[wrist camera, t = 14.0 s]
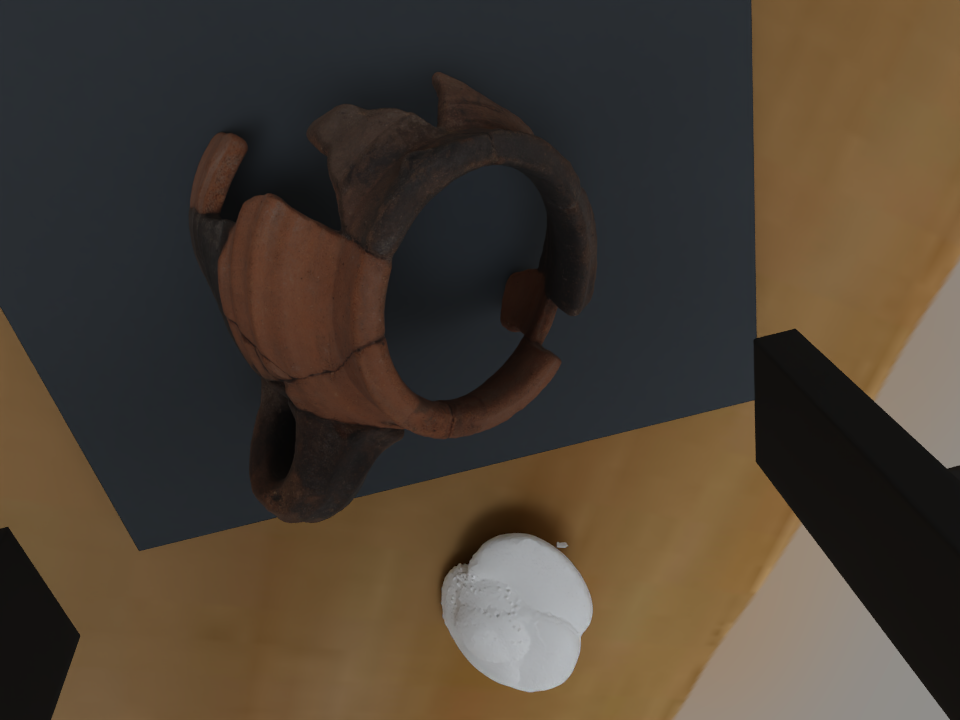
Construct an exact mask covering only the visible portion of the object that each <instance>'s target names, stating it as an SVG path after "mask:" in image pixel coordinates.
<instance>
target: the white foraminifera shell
mask: <svg viewBox="0 0 960 720" xmlns="http://www.w3.org/2000/svg"><path fill="white" fill-rule="evenodd" d="M567 546H568V545H567V543H566V542H561V543H559V542H557V547H558V548H559V547H560V548H566V547H567ZM441 590H442V598H441V600H442V602H441V605H442V610H443V615H442V616H443V618H444V620H445V624H446V626H447V627H448V629H449V632H450V634H451V636H452V637H453V639H454V641H455V643H456V645H457V646H458V648H459V649H460V650H461V652H462V653H463V654H464V656H465V657H466V658H467V659H468V661H469V662H470V663H471V664H472V665H473V666H474V667H475V668H476V669H477V670H479V671H480V672H482V673H483V674H484V675H486V676H487V677H489V678H490V679H492V680H493V681H496V682H498V683H500V684H503V685H506V686H509V687H512V688H515V689H518V690H522V691H527V692H535V691H543V690H548V689H551V688H554V687H556V686H559V685H561V684H562V683H563V682H565V681H566V680H567V679H568V678H569V676H570V675H571V673H572V672H573V670H574V667H575V665H576V662H577V660H578V657H579V654H580V648H581V635H582V634H583V632H584V631H585V630H586V629H587V627H588V626H589V624H590V622H591V619H592V614H593V606H592V599H591V596H590V592H589V590H588V588H587V585H586V583H585V582H584V580H583V577H582V576H581V574H580V573H579V571H578V570H577V568H576V567H575V566H574V565H573V563H572V562H571V561H570V560H569V559H568V558H567V557H566V556H565V555H564V554H563V553H562V552H561V551H559V550H558V549H557V548H555V547H554V546H553V545H551V544H550V543H548V542H546V541H545V540H543V539H540V538H538V537H536V536H533V535H530V534H525V533H508V534H503V535H498V536H496V537H494V538H492V539H490V540H488V541H486V542H485V543H483V544H482V546H481V547H480V548H479V550H478V551H477V552H476V553H475V554H474V555H473V557H472V559H471V560H470V561H469V564H468V565H467V564H466V563H465V564H464V565H462V564H461V563H459V564H458V566H454V567H453V569H451V570H450V571H449V573H448V574H447V576H446V577H445V578H444V582H443V586H442V588H441Z"/></svg>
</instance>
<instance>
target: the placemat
mask: <svg viewBox="0 0 960 720" xmlns="http://www.w3.org/2000/svg"><path fill="white" fill-rule="evenodd" d="M436 72H441V73H443V74H445V75H448V76H450V77H452V78H455V79H457V80H459V81H461V82H463V83H465V84H467V85H468V86H469V87H470V88H472V89H474V90H475V91H477V92H479V93H481V94H482V95H484V96H485V97H487V98H488V99H490V100H492V101H493V102H494V103H496V104H498V105H499V106H501V107H503V108H505V109H507V110H509V111H510V112H511V113H513V114H515V115H516V116H518V117H519V118H520V119H521V120H522V121H523V122H524V123H525V124H526V125H528V126H529V127H530V129H531V130H532V132H533V133H534V135H536V136H538V137H540V138H542V139H543V140H545V141H546V142H548V143H549V144H551V145H552V146H553V147H554V148H555V149H556V150H557V151H559V153H560V154H561V155H562V156H563V157H564V158H566V159H567V160H568V161H570V163H571V165H572V167H573V169H574V171H575V173H576V174H577V175H578V177H579V179H580V186H581V187H582V188H583V189H584V190H585V191H586V193H587V196H588V199H589V202H590V204H591V207H592V210H593V213H594V220H595V223H596V233H597V270H596V279H595V283H594V292H593V295H592V298H591V301H590V302H589V303H588V305H587V306H586V307H585V308H584V309H583V310H582V311H581V313H580V314H579V315H577V316H569V315H567V314H566V313H565V312H563V311H562V310H560V309H559V308H557V311H556V314H555V317H554V320H553V323H552V326H551V328H550V330H549V332H548V334H547V336H546V337H545V339H544V342H543V343H542V347H543V348H545V349H547V350H549V351H551V352H552V353H554V354H555V355H556V356H557V357H559V358H560V360H561V361H562V362H561V365H560V367H559V369H558V370H557V372H556V374H555V375H554V377H553V378H552V379H551V381H550V382H549V383H548V384H547V386H546V387H545V388H544V389H543V390H542V391H541V392H540V393H539V394H538V395H537V396H536V397H535V398H534V399H533V400H532V401H531V402H530V403H529V404H527V405H526V406H525V407H524V408H523V409H522V410H520V411H518V412H517V413H515V414H514V415H513V416H512V417H511V418H509V419H508V420H507V421H505V422H503V423H501V424H499V425H497V426H495V427H493V428H490V429H488V430H484V431H482V432H479V433H475V434H473V435H471V436H463V437H458V438H447V439H434V438H431V437H424V436H421V435H418V434H415V433H413V432H411V431H410V430H407V429H404V431H405V433H404V436H403V438H402V439H401V440H400V441H398V442H396V443H394V444H392V445H391V446H390V447H388V448H387V449H386V450H385V451H383V452H382V453H381V454H380V455H379V457H378V458H377V459H376V461H375V462H374V464H373V465H372V467H371V468H370V470H369V472H368V474H367V477H366V479H365V481H364V483H363V485H362V487H361V489H360V491H359V492H358V493H357V495H356V496H355V497H354V498H357V497H362V496H366V495H370V494H374V493H378V492H382V491H386V490H390V489H394V488H398V487H402V486H406V485H410V484H414V483H419V482H423V481H427V480H431V479H435V478H439V477H443V476H447V475H451V474H455V473H459V472H463V471H467V470H471V469H476V468H480V467H484V466H488V465H492V464H496V463H500V462H504V461H508V460H512V459H516V458H520V457H524V456H528V455H533V454H537V453H541V452H545V451H549V450H553V449H557V448H561V447H565V446H569V445H573V444H577V443H581V442H585V441H589V440H594V439H598V438H602V437H606V436H610V435H614V434H618V433H622V432H626V431H630V430H634V429H638V428H642V427H646V426H651V425H655V424H659V423H663V422H667V421H671V420H675V419H679V418H683V417H687V416H691V415H695V414H699V413H703V412H708V411H712V410H716V409H720V408H724V407H728V406H732V405H736V404H740V403H744V402H748V401H752V400H755V393H754V344H753V339H756V338H757V331H756V269H755V206H754V144H753V81H752V18H751V0H0V307H1V309H2V310H3V312H4V314H5V316H6V318H7V319H8V321H9V323H10V325H11V326H12V328H13V330H14V332H15V333H16V335H17V337H18V339H19V340H20V342H21V344H22V346H23V347H24V349H25V351H26V353H27V355H28V356H29V358H30V360H31V362H32V363H33V365H34V367H35V369H36V370H37V372H38V374H39V376H40V377H41V379H42V381H43V383H44V384H45V386H46V388H47V390H48V391H49V393H50V395H51V397H52V399H53V400H54V402H55V404H56V406H57V407H58V409H59V411H60V413H61V414H62V416H63V418H64V420H65V421H66V423H67V425H68V427H69V428H70V430H71V432H72V434H73V436H74V437H75V439H76V441H77V443H78V444H79V446H80V448H81V450H82V451H83V453H84V455H85V457H86V458H87V460H88V462H89V464H90V465H91V467H92V469H93V471H94V472H95V474H96V476H97V478H98V480H99V481H100V483H101V485H102V487H103V488H104V490H105V492H106V494H107V495H108V497H109V499H110V501H111V502H112V504H113V506H114V508H115V509H116V511H117V513H118V515H119V517H120V518H121V520H122V522H123V524H124V525H125V527H126V529H127V531H128V532H129V534H130V536H131V538H132V539H133V541H134V543H135V545H136V546H137V548H138V550H139V551H142V550H146V549H150V548H154V547H158V546H162V545H166V544H170V543H174V542H178V541H182V540H186V539H191V538H195V537H199V536H203V535H207V534H211V533H215V532H219V531H223V530H227V529H231V528H235V527H239V526H243V525H248V524H252V523H256V522H260V521H264V520H268V519H272V518H276V517H277V516H275V515H274V514H273V513H271V512H269V511H267V510H266V508H265V507H264V506H263V505H262V504H261V503H260V502H259V501H258V500H257V498H256V497H255V496H254V494H253V492H252V488H251V482H250V476H249V459H250V446H251V439H252V435H253V430H254V426H255V421H256V416H257V413H258V410H259V408H260V404H261V377H259V376H258V374H257V373H256V372H255V371H254V370H253V369H252V368H251V366H250V365H249V364H248V362H247V361H246V360H245V358H244V357H243V356H242V354H241V353H240V351H239V350H238V348H237V346H236V344H235V343H234V341H233V339H232V338H231V336H230V334H229V332H228V330H227V327H226V325H225V322H224V319H223V317H222V314H221V312H220V310H219V307H218V303H217V301H216V299H215V297H214V295H213V293H212V291H211V289H210V287H209V285H208V283H207V280H206V278H205V276H204V274H203V273H202V271H201V269H200V267H199V264H198V261H197V259H196V257H195V254H194V250H193V247H192V242H191V236H190V230H189V209H190V197H191V191H192V186H193V181H194V177H195V174H196V171H197V168H198V165H199V162H200V160H201V157H202V155H203V153H204V151H205V150H206V148H207V146H208V145H209V143H210V141H211V139H212V138H213V137H214V136H215V135H216V134H218V133H220V132H223V133H226V134H227V133H233V134H235V135H237V136H239V137H241V138H242V139H244V140H245V141H246V143H247V146H248V150H247V152H246V154H245V156H244V158H243V160H242V162H241V164H240V165H239V167H238V170H237V172H236V174H235V176H234V178H233V180H232V182H231V185H230V187H229V189H228V192H227V194H226V198H225V200H224V203H223V206H222V208H221V212H220V216H221V218H222V219H228V220H231V221H233V222H235V223H236V221H237V218H238V215H239V212H240V210H241V207H242V205H243V203H244V202H245V201H247V200H248V199H251V198H252V197H254V196H258V195H265V194H267V193H272V194H274V195H277V196H278V197H280V198H282V199H283V200H284V201H285V202H286V203H287V204H288V205H290V206H291V207H292V208H294V209H295V210H297V211H299V212H300V213H302V214H304V215H305V216H307V217H309V218H311V219H313V220H316V221H318V222H320V223H322V224H324V225H326V226H328V227H329V228H332V229H334V230H337V231H340V230H341V220H340V216H339V212H338V203H337V198H336V193H335V190H334V188H333V185H332V182H331V179H330V177H329V172H328V166H327V156H325V155H323V154H322V153H321V152H320V151H319V150H318V149H316V147H315V146H314V145H312V144H311V142H310V141H309V140H308V138H307V134H306V132H307V129H308V128H309V126H310V125H311V124H312V122H313V121H315V120H316V119H317V118H319V117H321V116H322V115H324V114H325V113H327V112H328V111H330V110H332V109H333V108H334V107H336V106H338V105H341V104H352V105H355V106H358V107H360V108H363V109H366V110H372V109H379V108H397V109H400V110H403V111H406V112H412V113H415V114H416V115H418V116H419V117H421V118H422V119H424V120H425V121H426V122H428V123H430V124H431V125H432V126H434V127H437V124H438V122H437V117H438V97H437V92H436V90H435V89H434V87H433V84H432V76H433V75H434V73H436ZM546 229H547V212H546V208H545V205H544V202H543V200H542V197H541V195H540V193H539V191H538V189H537V188H536V186H535V185H534V183H533V182H532V181H531V180H530V179H529V178H528V177H527V176H526V175H524V174H523V173H522V172H520V171H518V170H517V169H515V168H512V167H508V166H501V165H491V166H483V167H480V168H479V169H476V170H474V171H471V172H469V173H467V174H465V175H463V176H461V177H459V178H458V179H456V180H454V181H453V182H451V183H450V184H449V185H448V186H447V187H445V188H444V189H443V190H442V191H441V192H439V193H438V194H437V195H436V196H435V197H434V198H432V199H431V200H430V201H429V202H428V203H427V204H426V205H425V207H424V208H423V209H422V210H421V211H420V213H419V214H418V215H417V217H416V218H415V220H414V221H413V223H412V225H411V226H410V228H409V230H408V231H407V233H406V235H405V237H404V239H403V241H402V242H401V244H400V246H399V247H398V249H397V251H396V252H395V253H394V255H393V257H392V269H391V273H390V277H389V282H388V287H387V293H386V300H385V309H384V321H385V334H384V336H385V338H386V341H387V346H388V350H389V354H390V357H391V360H392V362H393V365H394V367H395V369H396V371H397V372H398V374H399V376H400V378H401V379H402V381H403V382H404V383H405V384H406V385H407V387H408V388H409V389H410V390H411V391H413V392H414V393H415V394H417V395H419V396H421V397H423V398H425V399H427V400H430V401H437V400H451V399H455V398H459V397H461V396H464V395H466V394H468V393H470V392H471V391H473V390H475V389H476V388H478V387H479V386H480V385H482V384H483V383H484V382H485V381H486V380H487V379H488V378H489V377H491V376H492V375H493V374H494V373H495V372H496V371H497V370H498V369H499V368H501V367H502V365H503V364H504V363H505V362H506V361H507V360H508V358H509V357H510V356H511V355H512V353H513V352H514V350H515V349H516V348H517V346H518V345H519V343H520V341H521V339H522V338H523V336H524V334H523V333H522V332H511V331H509V330H507V329H506V328H505V327H503V326H502V324H501V321H500V315H501V308H502V299H503V295H504V291H505V286H506V282H507V280H508V279H509V277H510V275H512V274H513V273H516V272H521V271H524V270H527V269H537V268H538V267H539V261H540V257H541V254H542V251H543V244H544V240H545V235H546Z"/></svg>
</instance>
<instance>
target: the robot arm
mask: <svg viewBox="0 0 960 720" xmlns="http://www.w3.org/2000/svg"><path fill="white" fill-rule="evenodd" d="M753 344H754V393H755V441H756V462H757V464H758V465H759V466H760V468H761V469H762V470H763V472H764V473H765V474H766V476H767V477H768V478H769V480H770V481H771V482H772V484H773V485H774V486H775V488H776V489H777V490H778V492H779V493H780V494H781V496H782V497H783V498H784V500H785V501H786V502H787V504H788V505H789V506H790V508H791V509H792V510H793V512H794V513H795V514H796V516H797V517H798V518H799V520H800V521H801V522H802V524H803V525H804V526H805V528H806V529H807V530H808V532H809V533H810V534H811V536H812V537H813V538H814V539H815V541H816V542H817V544H818V545H819V546H820V547H821V549H822V550H823V551H824V553H825V554H826V555H827V557H828V558H829V559H830V561H831V562H832V563H833V565H834V566H835V567H836V569H837V570H838V571H839V573H840V574H841V575H842V577H843V578H844V579H845V581H846V582H847V583H848V584H849V586H850V587H851V589H852V590H853V591H854V593H855V594H856V595H857V597H858V598H859V599H860V601H861V602H862V603H863V604H864V606H865V607H866V609H867V610H868V611H869V612H870V614H871V615H872V617H873V618H874V619H875V620H876V622H877V623H878V624H879V626H880V627H881V628H882V630H883V631H884V632H885V633H886V635H887V636H888V638H889V639H890V640H891V642H892V643H893V644H894V646H895V647H896V648H897V649H898V651H899V652H900V654H901V655H902V656H903V658H904V659H905V660H906V662H907V663H908V664H909V666H910V667H911V668H912V670H913V671H914V672H915V674H916V675H917V676H918V678H919V679H920V680H921V682H922V683H923V684H924V686H925V687H926V688H927V690H928V691H929V692H930V694H931V695H932V696H933V697H934V699H935V700H936V702H937V703H938V704H939V706H940V707H941V708H942V709H943V711H944V712H945V713H946V714H947V716H948V718H949V719H950V720H960V466H956V467H952V468H949V469H947V468H945V467H944V466H943V465H942V464H941V463H940V462H939V461H938V460H937V459H936V458H935V457H934V456H932V455H931V454H930V453H929V452H928V451H927V450H926V449H925V448H924V447H923V446H922V445H921V444H920V443H918V442H917V441H916V440H915V439H914V438H913V437H912V436H911V435H910V434H909V433H908V432H907V431H905V430H904V429H903V428H902V427H901V426H900V425H899V424H898V423H897V422H896V421H895V420H894V419H892V418H891V417H890V416H889V415H888V414H887V413H886V412H885V411H884V410H883V409H882V408H881V407H879V406H878V405H877V404H876V403H875V402H874V401H873V400H872V399H871V398H870V397H869V396H868V395H867V394H865V393H864V392H863V391H862V390H861V389H860V388H859V387H858V386H857V385H856V384H855V383H854V382H852V381H851V380H850V379H849V378H848V377H847V376H846V375H845V374H844V373H843V372H842V371H841V370H839V369H838V368H837V367H836V366H835V365H834V364H833V363H832V362H831V361H830V360H829V359H828V358H827V357H825V356H824V355H823V354H822V353H821V352H820V351H819V350H818V349H817V348H816V347H815V346H814V345H812V344H811V343H810V342H809V341H808V340H807V339H806V338H805V337H804V336H803V335H802V334H801V333H799V332H798V331H797V330H796V329H792V330H788V331H784V332H780V333H776V334H772V335H768V336H764V337H760V338H756V339H753ZM79 638H80V634H79V633H78V631H77V630H76V628H75V627H74V625H73V624H72V622H71V621H70V619H69V618H68V616H67V615H66V613H65V612H64V610H63V609H62V607H61V606H60V604H59V603H58V601H57V600H56V598H55V597H54V595H53V594H52V592H51V591H50V589H49V588H48V586H47V585H46V583H45V582H44V580H43V579H42V577H41V576H40V574H39V573H38V571H37V570H36V568H35V567H34V565H33V564H32V562H31V561H30V559H29V558H28V556H27V555H26V553H25V552H24V550H23V549H22V547H21V546H20V544H19V543H18V541H17V540H16V538H15V537H14V535H13V534H12V532H11V531H10V529H9V528H8V527H5V528H1V529H0V720H51V718H52V715H53V713H54V710H55V707H56V704H57V701H58V698H59V695H60V693H61V690H62V687H63V684H64V681H65V678H66V675H67V672H68V670H69V667H70V664H71V661H72V658H73V655H74V652H75V650H76V647H77V644H78V641H79Z"/></svg>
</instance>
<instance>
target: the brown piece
mask: <svg viewBox="0 0 960 720" xmlns="http://www.w3.org/2000/svg"><path fill="white" fill-rule="evenodd" d="M432 84H433V87H434V89H435V90H436V92H437V97H438V117H437V122H438V124H437V127H434V126H432V125H431V124H430V123H428V122H426V121H425V120H424V119H422V118H421V117H419V116H418V115H416V114H415V113H412V112H406V111H403V110H400V109H397V108H379V109H372V110H366V109H363V108H360V107H358V106H355V105H352V104H341V105H338V106H336V107H334V108H333V109H332V110H330V111H328V112H327V113H325V114H324V115H322V116H321V117H319V118H317V119H316V120H315V121H313V122H312V124H311V125H310V126H309V128H308V129H307V132H306V134H307V138H308V140H309V141H310V142H311V144H312V145H314V146H315V147H316V149H318V150H319V151H320V152H321V153H322V154H323V155H325V156H327V166H328V172H329V177H330V179H331V182H332V185H333V188H334V190H335V193H336V198H337V203H338V212H339V216H340V220H341V230H340V231H337V230H334V229H332V228H329V227H328V226H326V225H324V224H322V223H320V222H318V221H316V220H313V219H311V218H309V217H307V216H305V215H304V214H302V213H300V212H299V211H297V210H295V209H294V208H292V207H291V206H290V205H288V204H287V203H286V202H285V201H284V200H283V199H282V198H280V197H278V196H277V195H274V194H272V193H267V194H265V195H258V196H254V197H252V198H251V199H248V200H247V201H245V202H244V203H243V205H242V207H241V210H240V212H239V215H238V218H237V221H236V223H235V222H233V221H231V220H228V219H222V218H221V216H220V212H221V208H222V206H223V203H224V200H225V198H226V194H227V192H228V189H229V187H230V185H231V182H232V180H233V178H234V176H235V174H236V172H237V170H238V167H239V165H240V164H241V162H242V160H243V158H244V156H245V154H246V152H247V150H248V146H247V143H246V141H245V140H244V139H242V138H241V137H239V136H237V135H235V134H233V133H227V134H226V133H223V132H220V133H218V134H216V135H215V136H214V137H213V138H212V139H211V141H210V143H209V145H208V146H207V148H206V150H205V151H204V153H203V155H202V157H201V160H200V162H199V165H198V168H197V171H196V174H195V177H194V181H193V186H192V191H191V197H190V209H189V230H190V236H191V242H192V247H193V250H194V254H195V257H196V259H197V261H198V264H199V267H200V269H201V271H202V273H203V274H204V276H205V278H206V280H207V283H208V285H209V287H210V289H211V291H212V293H213V295H214V297H215V299H216V301H217V303H218V307H219V310H220V312H221V314H222V317H223V319H224V322H225V325H226V327H227V330H228V332H229V334H230V336H231V338H232V339H233V341H234V343H235V344H236V346H237V348H238V350H239V351H240V353H241V354H242V356H243V357H244V358H245V360H246V361H247V362H248V364H249V365H250V366H251V368H252V369H253V370H254V371H255V372H256V373H257V374H258V376H259V377H261V404H260V408H259V410H258V413H257V416H256V421H255V426H254V430H253V435H252V439H251V446H250V459H249V476H250V482H251V488H252V492H253V494H254V496H255V497H256V498H257V500H258V501H259V502H260V503H261V504H262V505H263V506H264V507H265V508H266V510H267V511H269V512H271V513H273V514H274V515H275V516H277V517H278V518H279V519H280V520H282V521H284V522H288V523H299V522H308V523H315V522H320V521H323V520H325V519H328V518H330V517H331V516H333V515H335V514H336V513H338V512H339V511H341V510H343V509H344V508H345V507H346V506H347V505H349V504H350V502H351V501H352V500H353V499H354V497H355V496H356V495H357V493H358V492H359V491H360V489H361V487H362V485H363V483H364V481H365V479H366V477H367V474H368V472H369V470H370V468H371V467H372V465H373V464H374V462H375V461H376V459H377V458H378V457H379V455H380V454H381V453H382V452H383V451H385V450H386V449H387V448H388V447H390V446H391V445H392V444H394V443H396V442H398V441H400V440H401V439H402V438H403V436H404V433H405V431H404V429H407V430H410V431H411V432H413V433H415V434H418V435H421V436H424V437H431V438H434V439H447V438H458V437H463V436H471V435H473V434H475V433H479V432H482V431H484V430H488V429H490V428H493V427H495V426H497V425H499V424H501V423H503V422H505V421H507V420H508V419H509V418H511V417H512V416H513V415H514V414H515V413H517V412H518V411H520V410H522V409H523V408H524V407H525V406H526V405H527V404H529V403H530V402H531V401H532V400H533V399H534V398H535V397H536V396H537V395H538V394H539V393H540V392H541V391H542V390H543V389H544V388H545V387H546V386H547V384H548V383H549V382H550V381H551V379H552V378H553V377H554V375H555V374H556V372H557V370H558V369H559V367H560V365H561V362H562V361H561V360H560V358H559V357H557V356H556V355H555V354H554V353H552V352H551V351H549V350H547V349H545V348H543V347H542V343H543V342H544V339H545V337H546V336H547V334H548V332H549V330H550V328H551V326H552V323H553V320H554V317H555V314H556V311H557V308H559V309H560V310H562V311H563V312H565V313H566V314H567V315H569V316H577V315H579V314H580V313H581V311H582V310H583V309H584V308H585V307H586V306H587V305H588V303H589V302H590V301H591V298H592V295H593V292H594V283H595V279H596V270H597V233H596V223H595V220H594V213H593V210H592V207H591V204H590V202H589V199H588V196H587V193H586V191H585V190H584V189H583V188H582V187H581V186H580V179H579V177H578V175H577V174H576V173H575V171H574V169H573V167H572V165H571V163H570V161H568V160H567V159H566V158H564V157H563V156H562V155H561V154H560V153H559V151H557V150H556V149H555V148H554V147H553V146H552V145H551V144H549V143H548V142H546V141H545V140H543V139H542V138H540V137H538V136H536V135H534V133H533V132H532V130H531V129H530V127H529V126H528V125H526V124H525V123H524V122H523V121H522V120H521V119H520V118H519V117H518V116H516V115H515V114H513V113H511V112H510V111H509V110H507V109H505V108H503V107H501V106H499V105H498V104H496V103H494V102H493V101H492V100H490V99H488V98H487V97H485V96H484V95H482V94H481V93H479V92H477V91H475V90H474V89H472V88H470V87H469V86H468V85H467V84H465V83H463V82H461V81H459V80H457V79H455V78H452V77H450V76H448V75H445V74H443V73H441V72H436V73H434V75H433V76H432ZM491 165H501V166H508V167H512V168H515V169H517V170H518V171H520V172H522V173H523V174H524V175H526V176H527V177H528V178H529V179H530V180H531V181H532V182H533V183H534V185H535V186H536V188H537V189H538V191H539V193H540V195H541V197H542V200H543V202H544V205H545V208H546V212H547V229H546V235H545V240H544V244H543V251H542V254H541V257H540V261H539V267H538V268H537V269H527V270H524V271H521V272H516V273H513V274H512V275H510V277H509V279H508V280H507V282H506V286H505V291H504V295H503V299H502V308H501V315H500V321H501V324H502V326H503V327H505V328H506V329H507V330H509V331H511V332H522V333H523V334H524V336H523V338H522V339H521V341H520V343H519V345H518V346H517V348H516V349H515V350H514V352H513V353H512V355H511V356H510V357H509V358H508V360H507V361H506V362H505V363H504V364H503V365H502V367H501V368H499V369H498V370H497V371H496V372H495V373H494V374H493V375H492V376H491V377H489V378H488V379H487V380H486V381H485V382H484V383H483V384H482V385H480V386H479V387H478V388H476V389H475V390H473V391H471V392H470V393H468V394H466V395H464V396H461V397H459V398H455V399H451V400H437V401H430V400H427V399H425V398H423V397H421V396H419V395H417V394H415V393H414V392H413V391H411V390H410V389H409V388H408V387H407V385H406V384H405V383H404V382H403V381H402V379H401V378H400V376H399V374H398V372H397V371H396V369H395V367H394V365H393V362H392V360H391V357H390V354H389V350H388V346H387V341H386V338H385V336H384V334H385V321H384V309H385V300H386V293H387V287H388V282H389V277H390V273H391V269H392V257H393V255H394V253H395V252H396V251H397V249H398V247H399V246H400V244H401V242H402V241H403V239H404V237H405V235H406V233H407V231H408V230H409V228H410V226H411V225H412V223H413V221H414V220H415V218H416V217H417V215H418V214H419V213H420V211H421V210H422V209H423V208H424V207H425V205H426V204H427V203H428V202H429V201H430V200H431V199H432V198H434V197H435V196H436V195H437V194H438V193H439V192H441V191H442V190H443V189H444V188H445V187H447V186H448V185H449V184H450V183H451V182H453V181H454V180H456V179H458V178H459V177H461V176H463V175H465V174H467V173H469V172H471V171H474V170H476V169H479V168H480V167H483V166H491Z"/></svg>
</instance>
